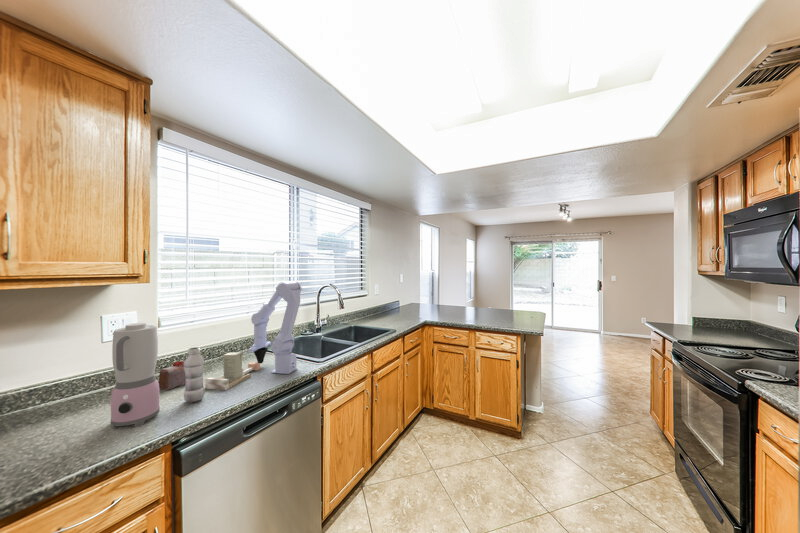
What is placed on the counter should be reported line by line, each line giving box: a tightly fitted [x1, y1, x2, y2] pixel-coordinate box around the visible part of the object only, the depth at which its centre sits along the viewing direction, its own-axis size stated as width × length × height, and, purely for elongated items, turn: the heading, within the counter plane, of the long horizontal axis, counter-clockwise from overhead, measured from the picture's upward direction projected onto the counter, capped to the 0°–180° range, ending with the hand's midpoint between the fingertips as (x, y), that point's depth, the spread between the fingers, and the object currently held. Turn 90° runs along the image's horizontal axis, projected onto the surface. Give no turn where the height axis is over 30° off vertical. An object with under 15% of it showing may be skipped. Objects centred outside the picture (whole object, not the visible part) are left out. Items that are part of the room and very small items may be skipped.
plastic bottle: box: [183, 346, 205, 404], centre depth 112 cm, size 6×7×20 cm
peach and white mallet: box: [242, 361, 261, 377], centre depth 142 cm, size 5×11×4 cm, turn 168°
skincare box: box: [222, 351, 243, 383], centre depth 133 cm, size 6×4×12 cm
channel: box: [204, 372, 252, 391], centre depth 131 cm, size 10×15×4 cm, turn 168°
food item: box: [158, 360, 186, 391], centre depth 129 cm, size 14×8×10 cm, turn 163°
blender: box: [110, 322, 161, 430], centre depth 97 cm, size 16×12×32 cm
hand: (260, 362), depth 151 cm, fingers closed
